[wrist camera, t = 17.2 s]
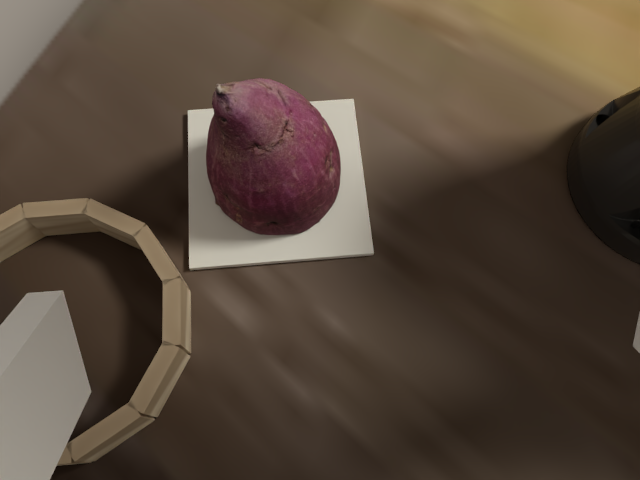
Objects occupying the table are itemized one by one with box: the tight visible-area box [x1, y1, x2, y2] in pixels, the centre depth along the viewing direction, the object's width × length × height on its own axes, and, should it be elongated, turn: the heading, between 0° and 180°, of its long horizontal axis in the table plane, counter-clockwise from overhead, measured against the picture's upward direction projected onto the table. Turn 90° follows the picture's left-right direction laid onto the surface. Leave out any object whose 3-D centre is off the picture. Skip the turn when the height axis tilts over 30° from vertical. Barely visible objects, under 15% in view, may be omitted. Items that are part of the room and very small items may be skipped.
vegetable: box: [206, 78, 341, 235], centre depth 39 cm, size 10×10×15 cm
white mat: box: [188, 99, 374, 270], centre depth 45 cm, size 14×14×1 cm
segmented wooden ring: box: [0, 198, 191, 466], centre depth 39 cm, size 18×18×4 cm
